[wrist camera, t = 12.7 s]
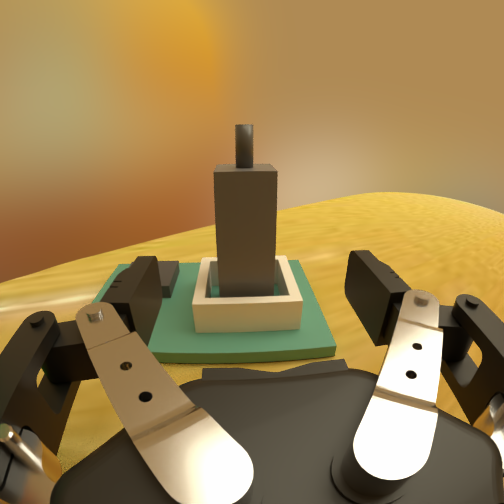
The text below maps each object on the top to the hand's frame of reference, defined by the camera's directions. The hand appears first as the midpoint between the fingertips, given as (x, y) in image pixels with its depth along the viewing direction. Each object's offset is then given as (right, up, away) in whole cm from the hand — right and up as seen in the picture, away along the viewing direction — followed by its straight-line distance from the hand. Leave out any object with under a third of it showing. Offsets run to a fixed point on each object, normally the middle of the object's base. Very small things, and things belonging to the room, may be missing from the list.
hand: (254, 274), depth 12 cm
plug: (-1, -3, +12) cm, 13 cm away
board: (-5, -4, +13) cm, 15 cm away
